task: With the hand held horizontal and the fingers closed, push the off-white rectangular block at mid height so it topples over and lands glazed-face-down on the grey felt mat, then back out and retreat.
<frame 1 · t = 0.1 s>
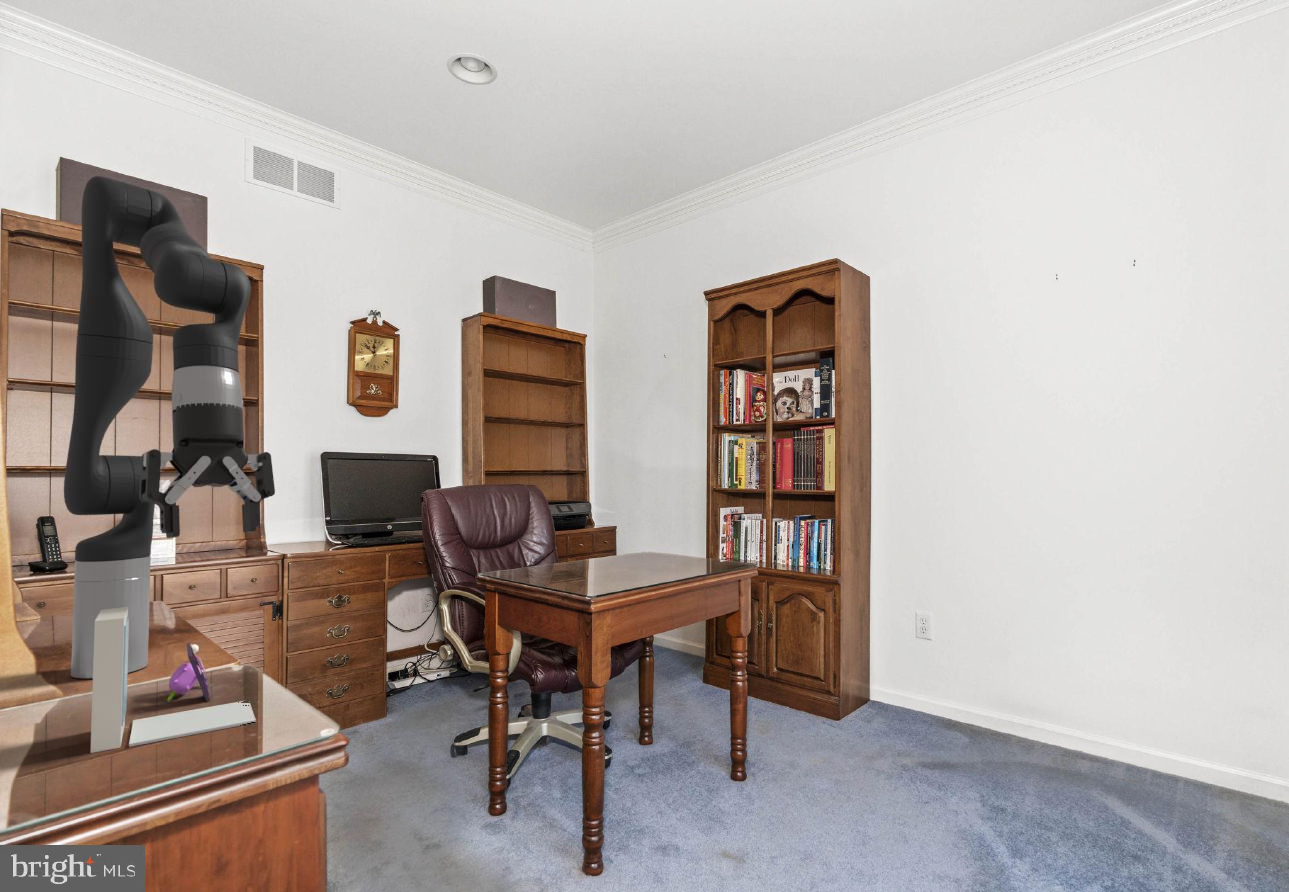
hand: (212, 534, 82), 22 cm above the table, tool pointing down, fingers open, 8 cm apart
mat: (194, 722, 79), on the table
purple frame: (188, 698, 89), on the table
off-white rectangular block: (108, 738, 75), on the table
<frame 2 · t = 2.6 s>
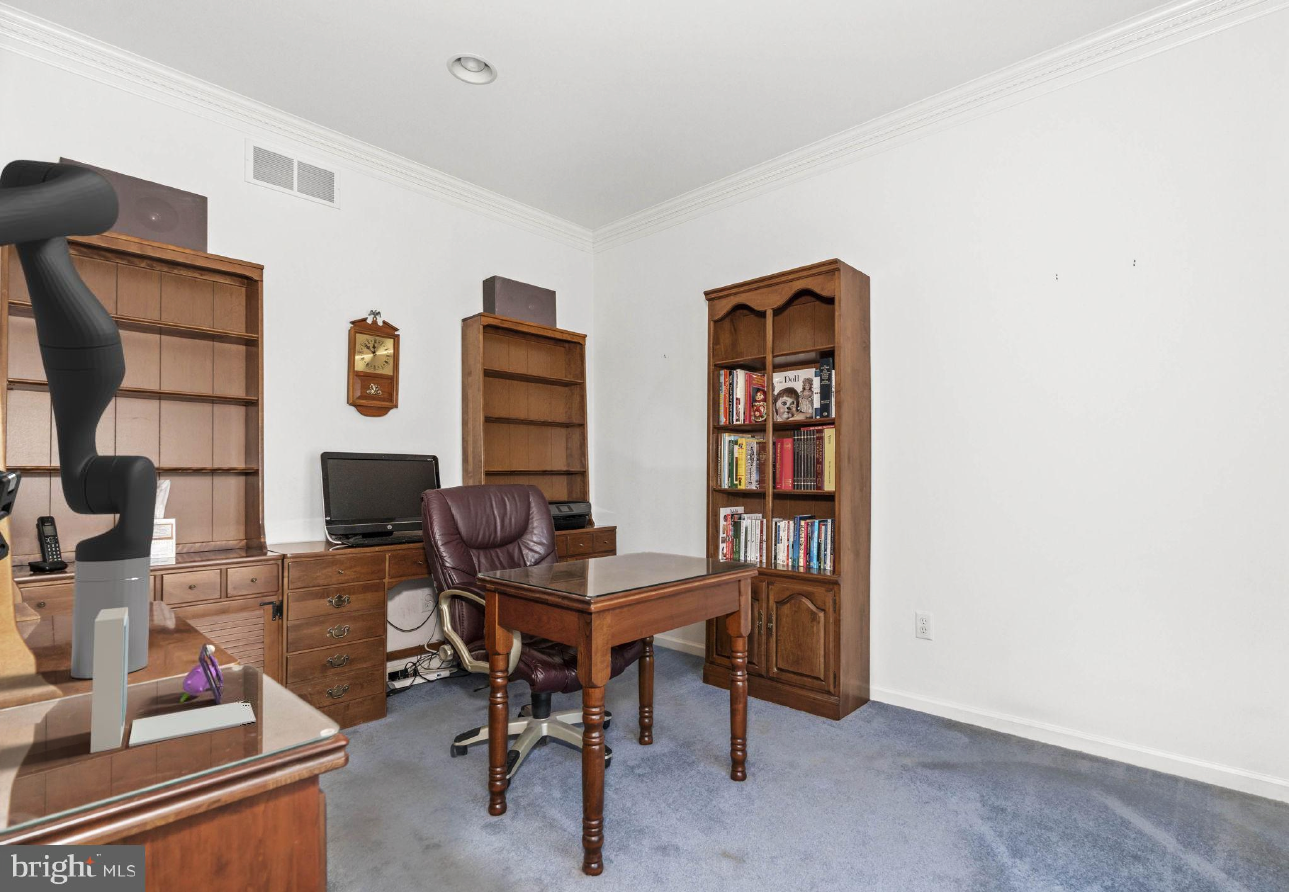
purple frame: (201, 700, 89), on the table
everything else where it was.
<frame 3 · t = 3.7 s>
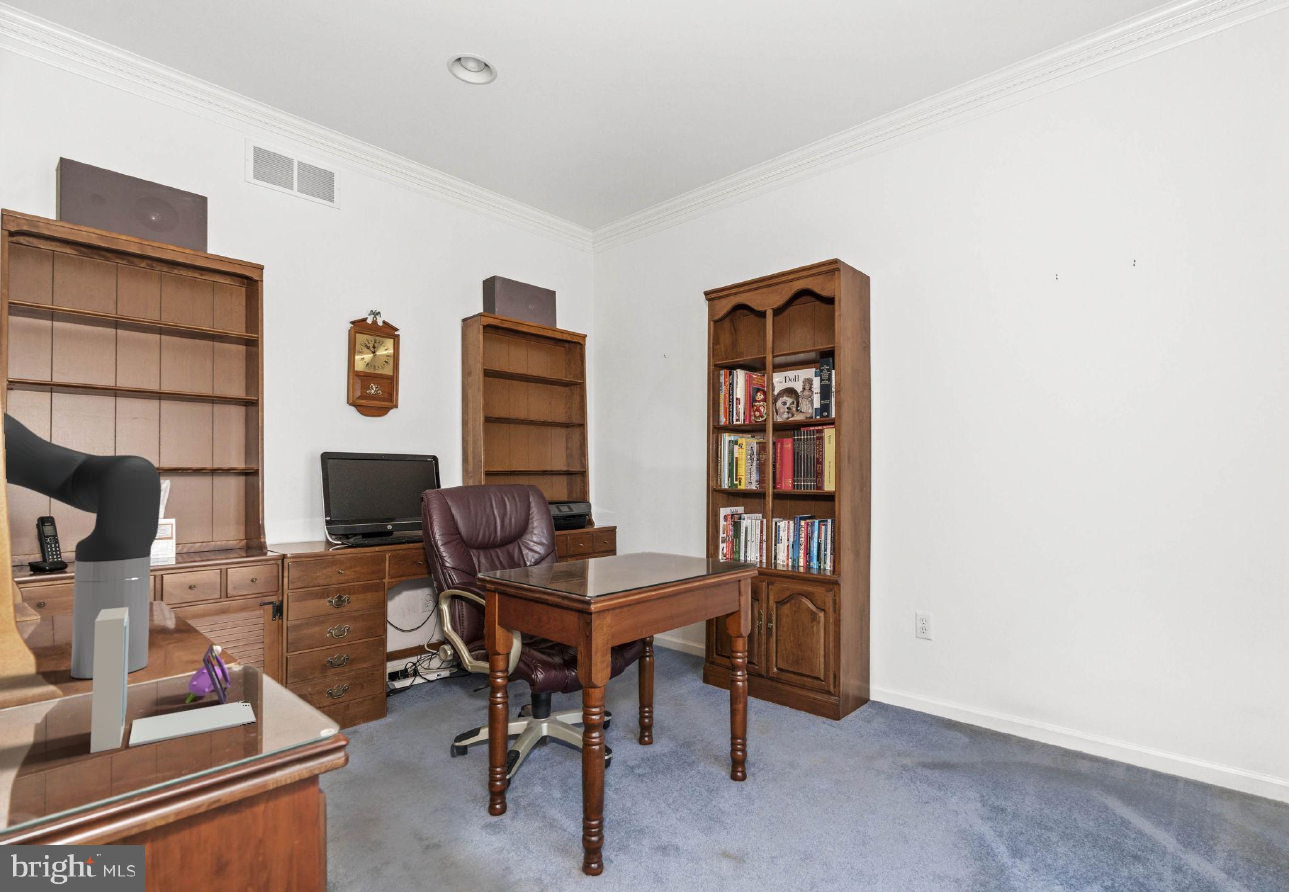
purple frame: (207, 700, 88), on the table
everything else where it was.
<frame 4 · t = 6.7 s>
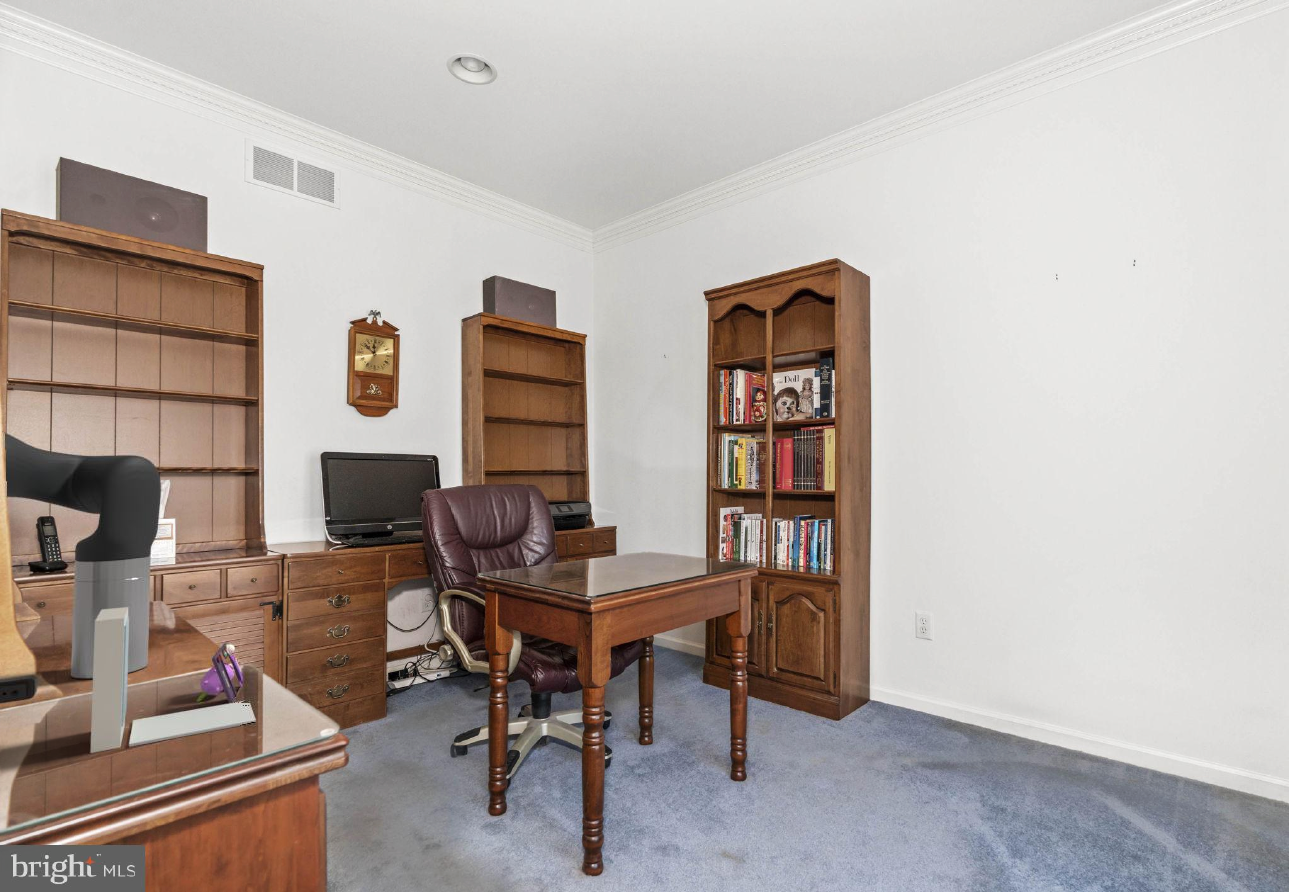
hand: (35, 686, 71), 7 cm above the table, tool horizontal, fingers closed
purple frame: (219, 699, 89), on the table
everything else where it was.
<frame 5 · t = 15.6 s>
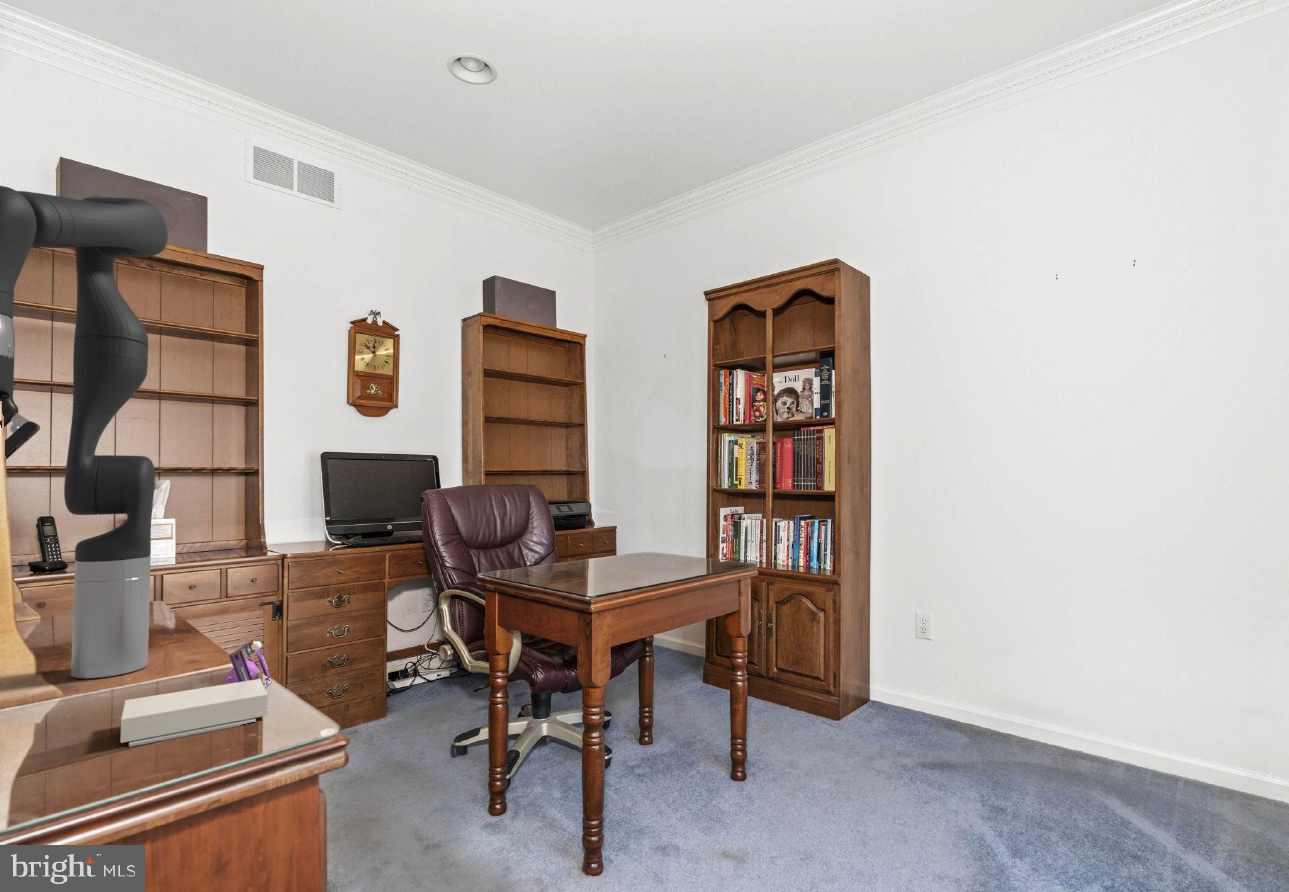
purple frame: (242, 695, 90), on the table
off-white rectangular block: (123, 720, 75), point 2 cm above the table, tilted 90°, touching mat
at the end: off-white rectangular block tilted 90°; off-white rectangular block inside the target area (5.3 cm from its centre), point 1.7 cm above the table; off-white rectangular block touching mat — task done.
